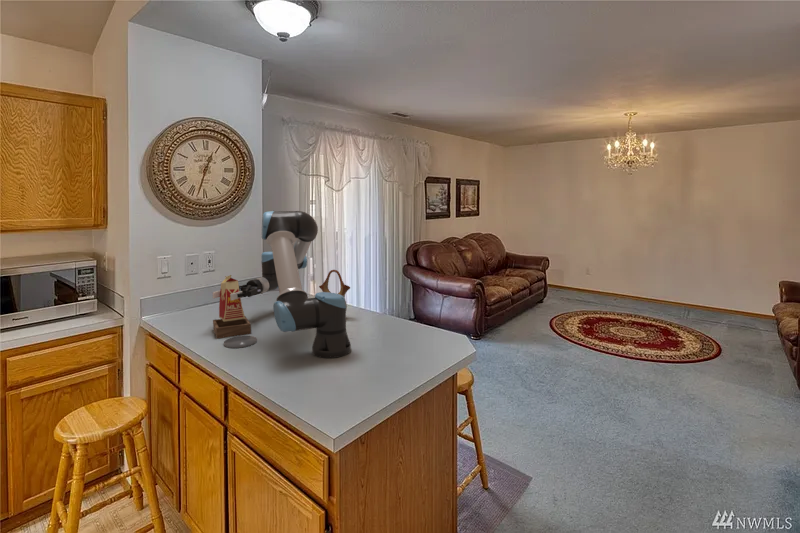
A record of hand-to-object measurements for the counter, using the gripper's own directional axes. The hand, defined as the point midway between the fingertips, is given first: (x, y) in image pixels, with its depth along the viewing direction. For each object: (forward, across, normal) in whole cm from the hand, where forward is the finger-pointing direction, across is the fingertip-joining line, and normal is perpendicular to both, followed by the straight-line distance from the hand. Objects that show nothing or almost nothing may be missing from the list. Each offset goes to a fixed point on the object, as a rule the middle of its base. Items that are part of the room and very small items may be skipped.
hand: (222, 296), depth 182 cm
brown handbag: (-40, -32, -18) cm, 54 cm away
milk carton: (-5, 0, -11) cm, 12 cm away
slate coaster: (+5, -14, -18) cm, 23 cm away
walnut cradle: (-5, 0, -17) cm, 18 cm away
